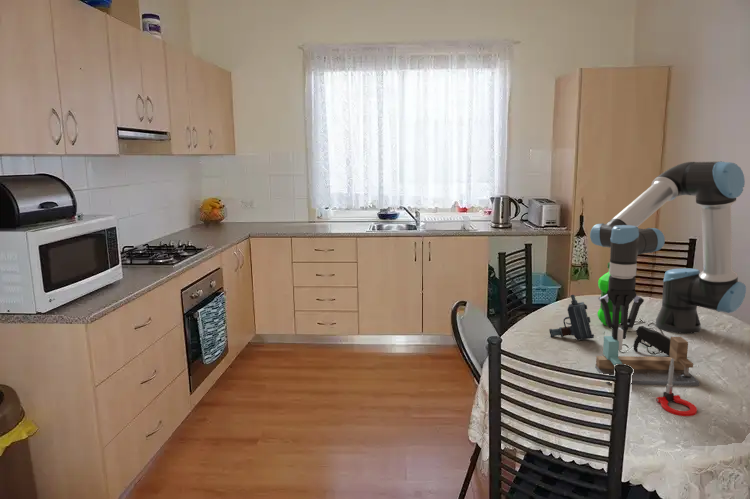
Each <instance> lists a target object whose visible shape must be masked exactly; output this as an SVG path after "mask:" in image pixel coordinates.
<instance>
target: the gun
mask: <svg viewBox="0 0 750 499" xmlns="http://www.w3.org/2000/svg"><path fill="white" fill-rule="evenodd" d="M570 297H571V301H570V304H568V306H567V314H568V316H566V317H564V318H563V325H564V326H563V327H560V326H559V328H549V330H548V331H549V334H550V337H551V338H552V337H555V336H560V337H561V338H563V337H566V336H572V337H574V338H575V340H577V341H582V340H590V339H594V336H595V334H594V333H592V329H591V325H590V323H591V318H590V316H588V313H587V310H588V305H587V304H585V302H584V301H581V302H578V300H577V299H576V296H575V294H571V295H570ZM568 319H569V322H570V323H569V322H565V321H566V320H568ZM566 324H567V325H569V326H567V325H566Z"/></svg>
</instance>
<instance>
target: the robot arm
mask: <svg viewBox="0 0 750 499" xmlns="http://www.w3.org/2000/svg"><path fill="white" fill-rule="evenodd" d="M744 187H745V174H744V172H743V170H742V168H741V167H740V166H739V165H738V164H736V163H734V162H728V161H721V160H720V161H687V162H682V163H680V164H677V165H674V166H672V167H670V168H669V169H667V170H665V171H664V172H661V173H660V174H659V175H658V176H656V177H655V178H654V179H653V180H652V181H651V185H650V186H649V187H648V188H647V189H646V190H644V191H643V192H642V193H641V194H640V195H638V196H637V197H636V198H635V199H634V200H633V201H632V202H630V203H629V204H628V205H627V206H626V207H624V208H623V209H622V210H620V212H619V213H617V214H616V215H615V216H613V218H611V220H609V221H608V222H607V223H603V222H602V223H596V224H595V225H593V226H592V228H591V230H590V233H589V238H590V241H591V243H592V244H593V245H595V246H598V247H603V248H610V250H609V251H610V254H609V255H610V256H609V262H610V268H608V272H609V274H610V276H609V285H608V291H607V293H606V295H605V296H603V297H601V296H599V297H598V300H599V302H600V304H601V303H602V307H603V312H604V316H605V321H606V325H607V326H606V327H608V328H609V329H612V330H611V336H612V338H613V339H617V340H618V341H619V351H623V341H624V340H626V338H627V331H628V330H629V329H632V328H633V327H634V326H635V322H636V320H637V317H638V313H639V311H640V307H641V305H643V303H644V301H645V299H644V298H642V297H641V296H639V295H637V292H636V283H637V281H636V280H637V278H636V276H637V268H638V267H637V264H638V263H637V262H638V255H644V254H652V253H654V252H657V251H660V250H661V249H662V248H663V247H664V245H665V241H666V239H665V238H666V237H665V234H664V233H663V232H662V231H661V230H660V229H659V228H655V227H647V228H639V226H641V225H642V224H643V223H644V222H645V221H646V220H648V219H649V218H650V217H651V216H652V215H653V214H654V213H656V212H657V211H658V210H659V209H660V208H662V207H663V206H664V205H665V204H666V203H667V202H670V201H671V202H672V201H673V200H675V199H676V198H678V197H679V196H694V197H695V204H696V205H697V206H699V207H700V208H701V210H700V211H701V212H700V213H701V214H700V215H701V235H702V236H701V237H702V238H701V239H702V262H703V263H702V265H703V269H702V271H700V269H698V268H688V267H687V268H683V267H682V268H672V269H668V270H666V271H665V273H664V276H663V281H662V282H663V284H662V287H663V288H662V297H661V298H662V301H661V308H660V310H659V312H658V314H657V316H656V318H655V327H656V328H657V329H660V330H662V331H666V332H669V333H674V334H675V333H676V334H683V335H688V334H689V335H690V334H697V333H700V332H701V327H702V326H701V322H700V321H701V320H700V317H699V313H698V309H697V308H698V307H699V308H704V309H708V310H712V311H715V312H717V313H720V312H721V313H725V314H726V313H727V314H731V313H734V312H737V310H739V308H740V307H741V305H742V304H743V302H744V299H745V298H746V293H747V287H746V285H745V283H744V282H742V281H739V276H738V273H737V272H736V271H734V270H733V240H732V239H733V234H732V233H733V232H732V230H733V229H732V205H733V204H734V203H736V202H737V198H738V197H740V196H741V195H742V193H743V191H744ZM608 298H609V299H610V300H611V302H612V303H613V315H612V321H611V316H610V311H609V307H608V304H607V303H608ZM632 301H633V302H632ZM631 303H632V305H631V309H630V311H629V308H630V304H631ZM620 306H621V323H620V324H619V310H620ZM619 326H620V327H619Z"/></svg>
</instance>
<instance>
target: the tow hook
mask: <svg viewBox="0 0 750 499" xmlns="http://www.w3.org/2000/svg"><path fill="white" fill-rule="evenodd" d="M673 365H674V359H673V358H671V362H670V365H669V373H668V382H667V384H666V385H665V387H666V388H665V391H663V393H662V396H658V397H655V402H656V403H659V404H660V406H661V408H662V409H663V410H665V411H666V412H667V413H669V414H673V415H677V416H681V417H693V416H694V415H696V414H697V411H698V408H697V406H696V405H695V404H694V403H692V402H690V401H688V400H685V399H682V398H681V396H680V395H679V394H677V395H675V394H674V393H673V386H674V385H673V384H672V382H673V373H674V366H673ZM670 402H675V403H676V404H680V405H683V406H686V407H687V408H689V409H688V410H678V409H675V408H673V407H671V406H669V403H670Z"/></svg>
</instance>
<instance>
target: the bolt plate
mask: <svg viewBox="0 0 750 499" xmlns="http://www.w3.org/2000/svg"><path fill="white" fill-rule="evenodd" d="M595 369H596V371H597V372H598V374H600V373H603V374H609V375H614V369H599V368H598V367H597V365H596V364H595ZM668 373H669V370H655V369H634V373H633V375H632V383H631V384H630V385H647V386H666V384H667V382H668ZM605 383H606V384H608V385H613V384H612V383H610V382H605ZM672 384H673V386H695V387H696V386H697V387H698V386H700V381H699V380H698V379H697V378H696V377H695V376H694V375H692V374H691V373H690V372H689V374H688V376H684V370H674V373H673V382H672Z"/></svg>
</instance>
